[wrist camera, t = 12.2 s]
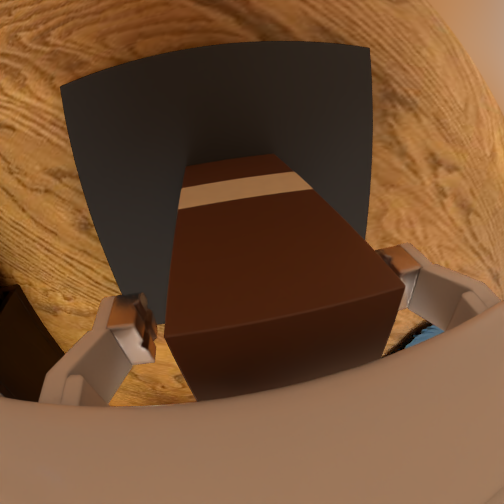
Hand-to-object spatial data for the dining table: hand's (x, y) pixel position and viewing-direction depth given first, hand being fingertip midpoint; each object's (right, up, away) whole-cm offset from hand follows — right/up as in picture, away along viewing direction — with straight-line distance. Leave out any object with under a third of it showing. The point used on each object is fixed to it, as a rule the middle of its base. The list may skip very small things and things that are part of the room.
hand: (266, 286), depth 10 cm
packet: (-1, +4, +7) cm, 8 cm away
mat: (-2, +5, +8) cm, 9 cm away
